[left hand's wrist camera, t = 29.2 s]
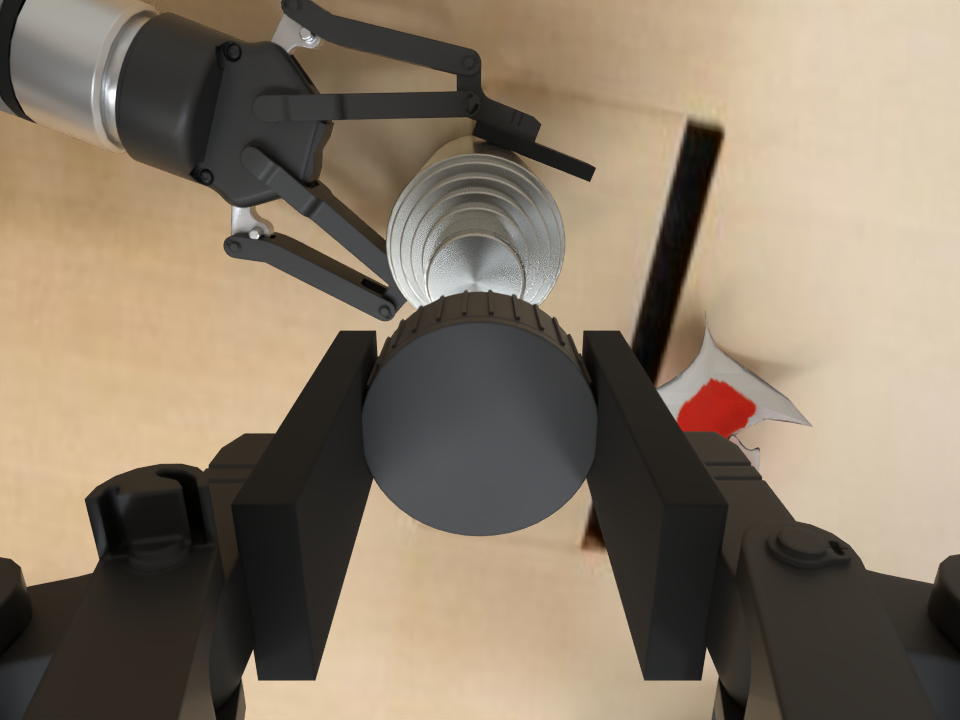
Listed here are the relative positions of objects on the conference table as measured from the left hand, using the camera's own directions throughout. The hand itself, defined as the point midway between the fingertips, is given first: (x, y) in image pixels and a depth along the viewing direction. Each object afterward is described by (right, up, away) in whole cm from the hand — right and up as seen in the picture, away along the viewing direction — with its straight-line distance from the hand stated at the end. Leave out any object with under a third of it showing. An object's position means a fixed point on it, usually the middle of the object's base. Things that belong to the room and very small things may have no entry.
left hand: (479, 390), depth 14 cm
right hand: (+4, +7, +22) cm, 24 cm away
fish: (+15, -3, +33) cm, 37 cm away
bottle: (0, +11, +28) cm, 30 cm away
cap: (0, -1, -2) cm, 2 cm away
